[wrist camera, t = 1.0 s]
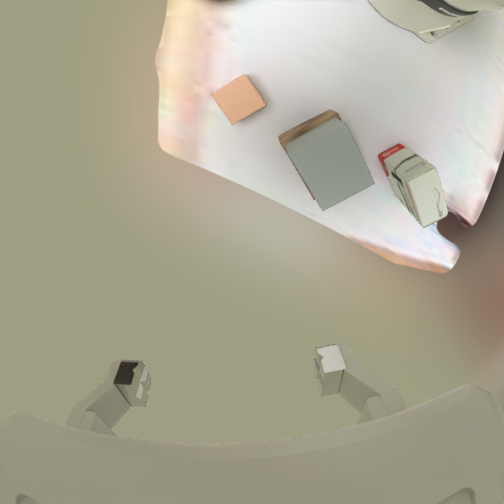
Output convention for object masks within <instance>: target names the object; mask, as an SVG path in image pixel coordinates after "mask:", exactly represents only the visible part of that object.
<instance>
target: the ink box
mask: <svg viewBox="0 0 504 504" xmlns="http://www.w3.org/2000/svg"><path fill="white" fill-rule="evenodd" d="M378 157H379V160H380V162H381V164H382V166H383V168H384V171H385V173H386V175H387V178H388V180H389V182H390V185H391V187H392V190H393V192H394V194H395V196H396V197H397V198H398V199H399V200H400V201H401V202H402V204H403V205H404V206H405V207H406V208H407V209H408V210H409V212H410V213H411V214H412V215H413V216H414V218H415V219H416V220H417V221H418V222H419V224H420V225H421V226H422V227H423V228H425V227H427V226H429V225H431V224H433V223H435V222H437V221H438V220H440V219H442V218H444V217H446V216H447V213H448V210H447V206H446V201H445V198H444V194H443V190H442V187H441V182H440V179H439V176H438V172H437V170H436V168H435V167H434V166H433V165H431V164H430V163H429V162H427V161H426V160H424V159H423V158H421V157H420V156H418V155H417V154H415V153H414V152H412V151H411V150H409V149H408V148H406V147H404V146H403V145H401V144H397V145H396V146H394V147H392V148H390V149H388V150H386V151H384V152H383V153H381V154H379V155H378Z"/></svg>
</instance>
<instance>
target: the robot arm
mask: <svg viewBox="0 0 504 504" xmlns="http://www.w3.org/2000/svg"><path fill="white" fill-rule="evenodd" d="M369 2H370V3H371V4H372V6H373V7H374V8H375V9H376V10H377V11H378V12H379V13H380V14H381V15H382V16H383V17H384V18H386V19H387V20H388V21H390V22H391V23H393V24H395V25H397V26H399V27H401V28H404V29H406V30H409V31H411V32H413V33H415V34H416V35H417V36H418V37H420V38H421V39H422V40H424V41H425V42H428V43H430V42H433V41H435V40H436V39H438V38H440V37H442V36H443V35H445V34H447V33H449V32H450V31H452V30H454V29H456V28H458V27H459V26H461V25H463V24H465V23H467V22H469V21H471V20H472V19H473V14H475V13H477V12H478V11H481V10H492V9H504V0H369ZM431 32H432V34H433V35H432V34H431ZM315 356H316V358H315V359H314V371H315V376H316V378H317V379H318V380H319V381H318V387H319V391H320V394H321V396H325V395H331V394H337V393H339V395H340V396H342V397H343V398H344V399H345V400H346V401H347V402H348V403H349V404H351V405H352V406H353V407H354V408H355V409H356V410H357V411H359V412H360V413H361V416H360V418H359V421H358V423H357V424H356V425H353V426H349V427H344V428H341V429H336V430H331V431H326V432H321V433H316V434H310V435H305V436H299V437H292V438H284V439H276V440H268V441H255V442H242V443H241V442H240V443H212V444H211V443H175V442H161V441H150V440H141V439H133V438H126V437H120V436H117V435H116V434H115V433H114V432H113V431H112V430H111V429H112V427H113V426H114V425H115V424H116V423H117V422H118V421H119V419H120V418H121V417H122V416H123V415H124V414H125V413H126V412H127V410H128V409H129V408H130V407H131V406H145V407H146V403H147V398H148V395H147V393H146V392H147V391H148V390H149V389H150V386H151V378H150V374H149V372H148V371H147V370H145V369H144V366H145V365H144V363H143V362H142V361H138V360H118V359H115V360H113V361H112V363H111V366H110V369H109V371H108V374H107V376H106V379H105V381H104V383H101V384H100V385H98V386H97V387H96V388H95V389H94V390H92V391H91V392H90V393H89V394H87V395H86V396H85V397H84V398H82V399H81V400H80V401H79V402H78V403H76V404H75V405H74V406H73V407H72V409H71V412H70V414H69V417H68V419H67V422H66V424H65V425H64V424H61V423H57V422H53V421H50V420H47V419H44V418H41V417H38V416H35V415H32V414H29V413H27V412H24V411H21V410H17V411H15V412H13V413H11V414H10V415H8V416H7V417H5V418H4V419H3V420H1V421H0V504H504V413H503V411H502V409H501V407H500V405H499V404H498V402H497V400H496V399H495V397H494V396H493V395H492V394H491V393H490V392H488V391H486V390H484V389H482V388H480V387H478V386H475V385H473V384H464V385H462V386H460V387H458V388H455V389H453V390H451V391H449V392H447V393H445V394H443V395H440V396H438V397H436V398H433V399H431V400H428V401H426V402H424V403H421V404H419V405H416V406H413V407H411V408H408V409H407V407H406V405H405V403H404V401H403V399H402V396H401V394H400V392H399V390H398V389H397V388H396V387H394V386H392V385H391V384H389V383H387V382H386V381H384V380H382V379H381V378H380V377H378V376H376V375H374V374H373V373H372V372H370V371H368V370H367V369H365V368H363V367H362V366H358V364H357V362H356V359H355V357H354V355H353V353H352V350H351V348H350V346H349V344H348V342H342V343H338V344H332V345H326V346H321V347H316V348H315Z"/></svg>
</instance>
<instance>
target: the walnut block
mask: <svg viewBox="0 0 504 504" xmlns="http://www.w3.org/2000/svg"><path fill="white" fill-rule="evenodd" d="M333 118H337V119H339V120H341V119H340V117H339V115H338V113H336V112H334V111H332V110H328V111H326V112H324V113H322V114H320V115H318V116H316V117H314V118H312V119H310V120H308V121H306V122H304V123H302V124H300V125H298V126H297V127H295V128H293V129H291V130H289V131H287V132H285V133H284V134H282V135H280V136H278V137H279V140H280V143H281V145H282V147H283V148H284V150H285V151H286V153H287V150H286V147H285V144H287V143H289V142H291V141H292V140H294V139H296V138H298V137H299V136H301V135H303V134H305V133H307V132H308V131H310V130H312V129H314V128H316V127H318V126H319V125H321V124H323V123H325V122H327V121H329V120H331V119H333ZM341 121H342V120H341ZM287 155H288V154H287ZM288 156H289V155H288ZM289 158H290V157H289ZM290 160H291V158H290ZM291 161H292V160H291ZM292 163H293V162H292ZM293 165H294V163H293ZM294 166H295V165H294ZM295 168H296V166H295ZM296 170H297V168H296ZM297 171H298V170H297ZM298 173H299V171H298ZM299 175H300V176H301V174H300V173H299ZM301 178H302V176H301ZM302 180H303V182H304V183H305V185H306V187H307V189H308V190H309V192H310V194H311V196H312V197H313V199H314V200H316V199H315V197H314V196H313V194H312V192H311V191H310V189H309V187H308V186H307V184H306V182H305V181H304V179H303V178H302Z"/></svg>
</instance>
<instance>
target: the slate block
mask: <svg viewBox="0 0 504 504" xmlns="http://www.w3.org/2000/svg"><path fill="white" fill-rule="evenodd" d="M285 147H286V150H287V154H288V155H289V157H290V158H291V160H292V162H293V163H294V165H295V166H296V168H297V170H298V171H299V173H300V174H301V176H302V178H303V179H304V181H305V182H306V184H307V186H308V187H309V189H310V191H311V192H312V194H313V196H314V197H315V199H316V201H317V203H318V204H319V206H320V208H321V209H322V211H324V210H326V209H328V208H330V207H332V206H333V205H335V204H337V203H339V202H341V201H343V200H345V199H347V198H349V197H350V196H352V195H354V194H356V193H358V192H360V191H362V190H364V189H366V188H368V187H369V186H371V185H373V184H375V183H374V181H373V178H372V176H371V174H370V172H369V170H368V167H367V165H366V163H365V161H364V159H363V157H362V155H361V153H360V151H359V149H358V147H357V145H356V143H355V141H354V139H353V137H352V135H351V133H350V131H349V129H348V127H347V125H346V124H345V122H343V121H341V120H339V119H337V118H333V119H331V120H329V121H327V122H325V123H323V124H321V125H319V126H318V127H316V128H314V129H312V130H310V131H308V132H307V133H305V134H303V135H301V136H299V137H298V138H296V139H294V140H292V141H291V142H289V143H287V144H285Z"/></svg>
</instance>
